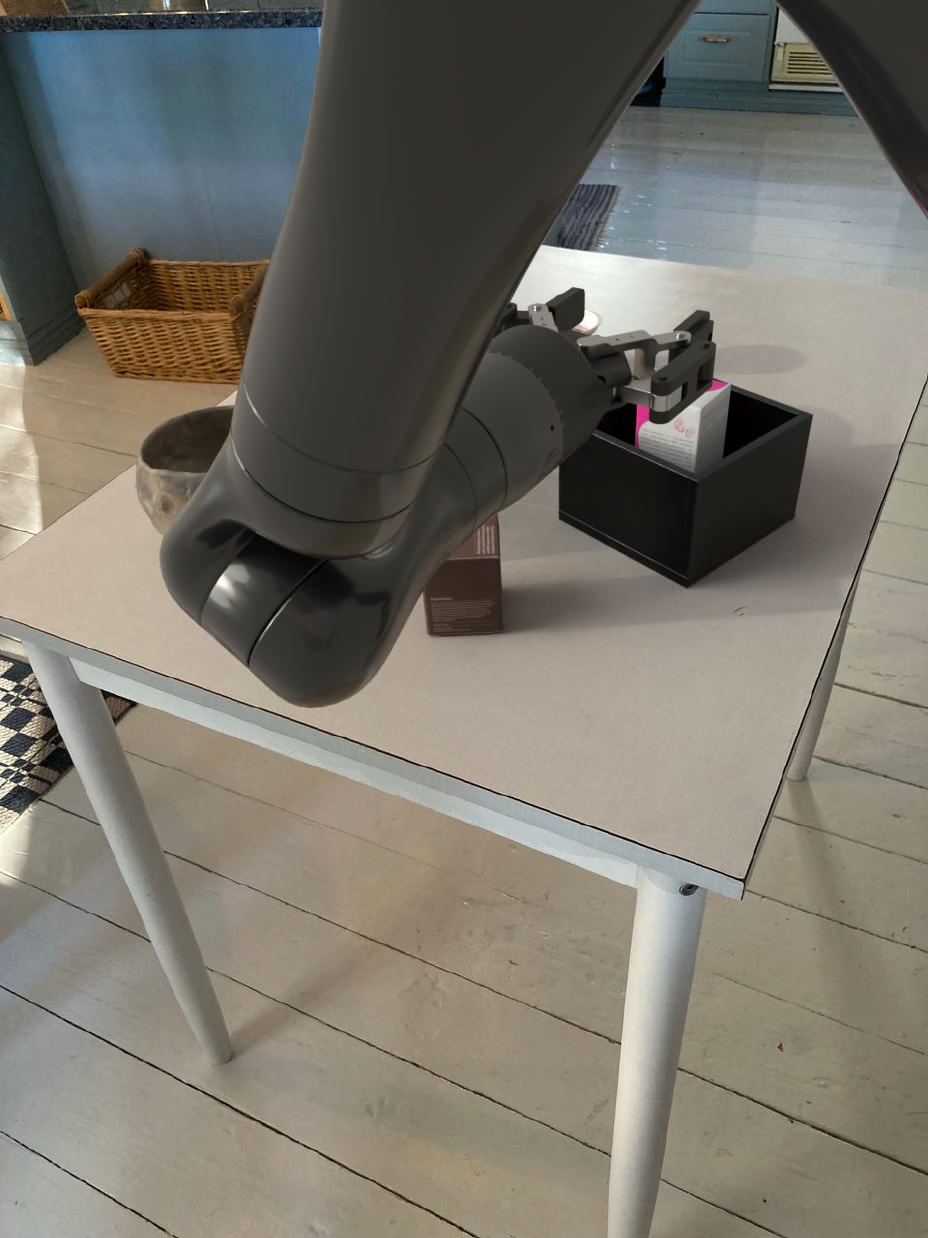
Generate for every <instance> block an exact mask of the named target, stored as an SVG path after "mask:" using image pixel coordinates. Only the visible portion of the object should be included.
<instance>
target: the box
mask: <svg viewBox="0 0 928 1238" xmlns="http://www.w3.org/2000/svg"><path fill="white" fill-rule="evenodd" d="M500 538H501V537H500V521H499V514H496V515H495V516H494V517H493V518H491V519H490V520H489V521H488V522H487V523H486V524H485V525H483V526H482V527H481V528H480V529H479V530H478V531H477V532H476V533H474V534H473V535H472V536H471V537H470V538H469V539H468V540H466V541H465V542H464V543H463V544H462V545H461V546H460V547H458V548H457V549H456V550H455V551H454V552H453V553H452V554H451V555H450V556H449V557H448V559H447V560H446V561H445V562H444V563H443V564H442V566H441V567H440V568H439V569H438V570H437V572H436V573H435V574H434V576H433V577H432V578H431V580H430V581H429V583H428V584H427V586H426V587H425V589H424V591H423V592H422V600H423V608H424V615H425V625H426V633H427V635H428V636H449V635H450V636H451V635H468V634H495V633H502V632H503V631H504V602H503V601H504V600H503V582H502V563H501V539H500Z"/></svg>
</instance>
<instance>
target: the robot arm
mask: <svg viewBox="0 0 928 1238" xmlns="http://www.w3.org/2000/svg"><path fill="white" fill-rule="evenodd" d="M703 1H704V0H323V9H322V17H321V26H320V36H319V44H318V52H317V58H316V66H315V70H314V78H313V84H312V91H311V92H312V93H311V98H310V106H309V111H308V116H307V121H306V126H305V132H304V137H303V143H302V147H301V152H300V157H299V160H298V161H299V162H298V165H297V169H296V172H295V177H294V181H293V185H292V188H291V192H290V195H289V199H288V201H287V202H288V203H287V205H286V209H285V211H284V215H283V218H282V221H281V225H280V227H279V230H278V234H277V236H276V239H275V243H274V246H273V249H272V252H271V255H270V259H269V261H268V265H267V268H266V271H265V274H264V278H263V281H262V285H261V288H260V291H259V295H258V299H257V303H256V307H255V310H254V315H253V318H252V321H251V322H252V323H251V327H250V331H249V336H248V339H247V344H246V349H245V353H244V358H243V363H242V367H241V373H240V376H239V382H238V386H237V392H236V396H235V402H234V405H235V406H234V410H233V417H232V420H231V426H230V432H229V434H228V436H227V438H226V440H225V442H224V444H223V446H222V448H221V450H220V451H219V453H218V455H217V456H216V458H215V460H214V462H213V463H212V465H211V467H210V468H209V470H208V472H207V473H206V475H205V477H204V478H203V480H202V482H201V483H200V485H199V486H198V488H197V489H196V491H195V492H194V493H193V495H192V496H191V497H190V498H189V500H188V501H187V502H186V503H185V505H184V506H183V507H182V508H181V510H180V511H179V512H178V514H177V515H176V516H175V518H174V519H173V521H172V522H171V524H170V525H169V527H168V529H167V530H166V532H165V534H164V536H163V535H162V539H161V542H160V545H159V554H158V560H159V567H160V573H161V576H162V579H163V582H164V585H165V587H166V589H167V591H168V593H169V595H170V597H171V598H172V599H173V601H174V602H175V603H176V605H177V606H178V607H179V608H180V609H181V610H182V611H183V612H184V613H185V614H186V615H187V616H188V617H189V618H190V619H191V620H192V621H193V622H195V623H196V624H197V625H198V626H199V627H200V628H201V629H203V630H204V631H205V632H206V633H207V634H208V635H209V636H210V637H212V638H213V639H214V640H215V641H216V642H217V643H218V644H219V645H220V646H221V647H223V648H224V649H225V650H226V651H227V652H228V653H230V654H231V655H232V656H233V657H234V658H235V659H236V660H237V661H238V662H239V663H241V664H242V665H243V666H244V667H245V668H246V669H248V670H249V672H251V673H252V674H253V675H254V676H255V677H256V678H257V679H258V680H259V681H260V682H261V683H262V684H263V685H265V686H266V688H268V689H269V690H270V691H271V692H272V693H274V694H275V695H276V696H277V697H278V698H280V699H282V700H283V701H285V702H287V703H288V704H290V705H292V706H295V707H299V708H306V709H317V708H318V709H319V708H326V707H329V706H334V705H338V704H340V703H342V702H344V701H347V700H349V699H350V698H352V697H354V696H356V695H357V694H359V692H361V691H363V689H364V688H365V687H367V685H369V683H371V681H373V680H374V678H375V677H376V676H377V674H378V673H379V672H380V670H381V669H382V667H383V666H384V664H385V662H386V661H387V660H388V658H389V656H390V654H391V653H392V651H393V648H394V647H395V645H396V644H397V641H398V640H399V637H400V636H401V634H402V632H403V630H404V628H405V626H406V624H407V622H408V620H409V619H410V616H411V615H412V612H413V610H414V608H415V607H416V604H417V602H418V601H419V599H420V598H421V596H422V595H423V591H424V589H425V587H426V586H427V584H428V583H429V581H430V580H431V578H432V577H433V576H434V574H435V573H436V572H437V570H438V569H439V568H440V567H441V566H442V564H443V563H444V562H445V561H446V560H447V559H448V557H449V556H450V555H451V554H452V553H453V552H454V551H455V550H456V549H457V548H458V547H460V546H461V545H462V544H463V543H464V542H465V541H466V540H468V539H469V538H470V537H471V536H472V535H473V534H474V533H476V532H477V531H478V530H479V529H480V528H481V527H482V526H483V525H485V524H486V523H487V522H488V521H489V520H490V519H491V518H493V517H494V516H495V515H496V514H497V515H499V513H500V512H502V511H504V510H505V509H506V510H507V508H509V507H511V506H512V505H513V504H516V503H517V502H519V501H520V500H521V499H522V498H524V497H526V496H527V494H528V493H530V492H531V491H532V490H533V489H534V488H536V486H538V485H539V484H540V483H541V482H542V481H543V480H545V479H546V478H547V477H548V476H550V474H551V473H552V472H553V471H554V470H556V469H557V468H559V465H560V464H561V463H562V462H563V461H565V460H566V459H567V458H568V457H569V456H570V455H571V454H572V453H574V452H575V451H576V450H577V449H578V448H579V447H580V446H582V445H583V444H584V443H585V442H586V441H587V440H588V439H589V437H590V436H591V435H592V433H593V432H594V430H595V428H596V427H597V425H598V423H599V422H600V420H601V418H602V417H603V415H604V414H605V413H606V412H608V411H611V410H613V409H617V408H620V407H622V406H624V405H625V404H627V403H628V402H629V403H633V404H637V405H640V406H644V407H648V408H649V421H650V422H651V423H654V424H667V423H669V422H670V421H671V420H673V419H674V418H675V417H676V416H677V415H679V414H680V413H681V412H682V411H683V410H685V409H686V408H687V407H688V406H690V405H691V404H692V403H693V402H694V401H696V400H697V399H698V398H699V397H700V396H702V395H703V394H704V393H705V392H706V391H708V390H709V389H710V388H711V387H712V384H713V378H714V373H715V363H716V353H717V343H716V342H714V341H713V335H714V324H715V321H714V320H713V319H711V312H710V311H708V310H702V309H696V310H694V312H692V313H691V314H690V315H689V316H688V317H687V318H685V319H684V320H683V321H682V322H680V323H679V324H678V325H676V327H674V328H673V329H672V331H670V332H669V331H668V332H665V333H660V334H653V335H651V334H650V333H649V332H647V330H644V329H639V330H634V331H633V330H632V331H628V332H623V333H618V334H614V335H613V334H612V335H608V336H601V335H600V334H592V336H590V335H587V334H584V333H582V332H578V331H573V330H571V329H573V328H574V327H576V326H577V325H578V324H580V323H581V322H582V321H583V319H584V315H585V308H586V291H585V289H584V288H580V287H576V286H572V287H570V288H569V289H567V290H566V291H564V292H563V293H560V294H557V295H555V296H554V297H553V298H551V299H550V300H548V301H546V302H545V303H532V304H529V305H528V306H527V310H519V309H518V304H517V303H515V302H513V301H512V300H513V297H514V296H515V294H516V292H517V290H518V288H519V286H520V285H521V282H522V281H523V278H524V277H525V275H526V274H527V271H529V268H530V266H531V264H532V262H533V261H534V259H535V257H536V256H537V254H538V252H539V250H540V249H541V246H542V245H543V243H544V242H545V240H546V238H547V236H548V235H549V233H550V232H551V230H552V228H553V226H554V225H555V224H556V221H557V220H558V218H559V216H560V215H561V213H562V211H563V210H564V208H565V206H567V203H568V202H569V201H570V198H571V197H572V196H573V194H574V193H575V191H576V189H577V188H578V186H579V184H580V183H581V181H582V180H583V178H584V176H585V174H587V171H588V170H589V168H590V167H591V165H592V163H593V161H594V160H595V158H596V157H597V156H598V154H599V152H600V151H601V149H602V148H603V146H604V145H605V143H606V141H607V140H608V138H609V137H610V136H611V134H612V132H613V131H614V129H615V128H616V126H617V125H618V123H619V122H620V120H621V118H623V115H624V114H625V112H626V111H627V109H628V108H629V107H630V105H631V104H632V102H633V100H634V99H635V97H636V96H637V95H638V93H639V92H640V90H641V89H642V87H643V86H644V84H645V83H646V82H647V80H648V79H649V77H650V76H651V74H652V73H653V72H654V71H655V69H656V68H657V66H658V65H659V63H660V62H661V60H662V59H663V58H664V56H666V53H667V52H668V50H669V49H670V48H671V47H672V45H673V43H674V42H675V41H676V40H677V38H678V37H679V35H680V34H681V32H682V31H683V30H684V28H685V27H686V25H688V23H689V21H690V20H691V18H692V17H693V16H694V14H695V13H696V11H698V9H699V7H700V6H701V4H702V3H703ZM771 2H773V3H774V5H776V6H777V7H778V9H779V10H780V11H781V12H782V13H783V14H784V15H785V17H786V18H787V19H788V20H789V21H790V22H791V23H792V24H793V26H794V27H795V28H796V29H797V30H798V31H799V33H801V35H802V36H803V37H804V38H805V40H806V41H807V42H808V45H810V47H811V48H812V50H813V51H814V52H815V53H816V55H817V56H818V57H819V59H820V60H821V61H822V63H823V64H824V65H825V67H826V69H828V72H829V73H830V75H831V76H832V77H833V79H834V81H835V82H836V83H837V84H838V86H839V88H840V90H841V91H842V93H843V94H844V96H845V97H846V99H847V100H848V102H849V104H850V105H851V107H852V108H853V110H854V112H855V113H856V114H857V116H858V118H859V119H860V121H861V122H862V124H863V126H864V127H865V128H866V129H867V132H868V134H869V135H870V137H871V138H872V139H873V141H874V143H875V144H876V146H877V147H878V149H879V151H880V152H881V154H882V155H883V157H884V159H885V160H886V161H887V163H888V165H889V166H890V167H891V169H892V170H893V172H894V173H895V175H896V176H897V178H898V179H899V181H900V183H901V184H902V185H903V187H904V188H905V190H906V191H907V192H908V194H909V195H910V197H911V198H912V200H913V201H914V202H915V204H916V205H917V207H918V208H919V209H920V211H921V212H922V214H923V215H924V217H925V218H926V219H927V220H928V0H771ZM629 351H634V357H633V359H634V360H633V363H634V364H633V373H632V370H631V367H630V364H629V361H628V358H627V356H626V355H627V354H626V352H629ZM665 351H668V355H667V364H663V365H656V360H657V359H656V358H657V355H658V354H660V353H661V352H665Z"/></svg>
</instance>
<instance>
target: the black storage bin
mask: <svg viewBox="0 0 928 1238" xmlns="http://www.w3.org/2000/svg"><path fill="white" fill-rule="evenodd" d="M713 380H714V381H719V382H723V383H728V384H731V383H729V382H726V381H724V380H721V379H718V378H716V377H713ZM813 418H814V413H811V412H808V411H805V410H802V409H799V408H796V407H793V406H790V405H788V404H786V403H783V402H780V401H778V400H775V399H773V398H770V397H767V396H764V395H761V394H758V393H756V392H753V391H751V390H748V389H745V388H743V387H739V386H737V385H734V384H731V390H730V399H729V407H728V416H727V424H726V433H725V441H724V450H723V458H722V460H720V461H718V462H717V463H715V464H713V465H711V466H710V467H708V468H706V469H704V470H703V471H701V472H699V473H698V474H695V473H692V472H690V471H688V470H686V469H684V468H681V467H679V466H677V465H675V464H672V463H670V462H668V461H666V460H664V459H661V458H659V457H657V456H655V455H653V454H650V453H648V452H646V451H644V450H641V449H639V448H637V447H635V439H636V423H637V404H633V403H629V402H628V403H627V404H625V405H624V406H622V407H620V408H617V409H613V410H611V411H608V412H606V413H605V414H604V415H603V417H602V418H601V420H600V422H599V423H598V425H597V427H596V428H595V430H594V432H593V433H592V435H591V436H590V437H589V439H588V440H587V441H586V442H585V443H584V444H583V445H582V446H580V447H579V448H578V449H577V450H576V451H575V452H574V453H572V454H571V455H570V456H569V457H568V458H567V459H566V460H565V461H563V462H562V463H561V464H560V465H559V466H558V520H559V521H561V522H563V523H565V524H566V525H569V526H571V527H572V528H574V529H576V530H578V531H580V532H582V533H584V534H586V535H587V536H589V537H591V538H593V539H595V540H596V541H598V542H600V543H602V544H604V545H606V546H608V547H609V548H611V549H613V550H615V551H617V552H618V553H620V554H622V555H624V556H626V557H628V558H629V559H631V560H633V561H635V562H637V563H638V564H641V565H642V566H644V567H646V568H648V569H650V570H652V571H654V572H656V573H657V574H659V575H661V576H662V577H664V578H667V579H669V580H670V581H672V582H673V583H675V584H677V585H679V586H681V587H683V588H684V589H689V588H690V587H691V586H693V585H695V584H696V583H697V582H699V581H701V580H702V579H703V578H705V577H707V576H708V575H710V574H711V573H713V572H714V571H716V570H717V569H719V568H721V567H722V566H723V565H725V564H726V563H728V562H729V561H731V560H732V559H734V558H735V557H737V556H739V555H741V554H742V553H743V552H744V551H746V550H747V549H749V548H751V547H752V546H753V545H755V544H757V543H758V542H760V541H762V539H765V538H766V537H768V536H769V535H770V534H772V533H773V532H775V531H777V530H778V529H779V528H781V527H782V526H784V525H785V524H787V523H788V522H790V521H792V520H793V519H795V517H796V513H797V507H798V501H799V497H800V490H801V485H802V480H803V479H802V478H803V473H804V468H805V463H806V458H807V452H808V447H809V440H810V435H811V429H812V425H813V424H812V423H813Z"/></svg>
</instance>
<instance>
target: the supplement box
mask: <svg viewBox="0 0 928 1238" xmlns="http://www.w3.org/2000/svg"><path fill="white" fill-rule="evenodd" d="M728 383H729V382H726V383H723V382H719V381H714V380H713V384H712V387H711V388H710V389H709V390H708V391H706V392H705V393H704V394H703V395H702V396H700V397H699V398H698V399H697V400H696V401H694V402H693V403H692V404H691V405H690V406H688V407H687V408H686V409H685V410H683V411H682V412H681V413H680V414H679V415H677V416H676V417H675V418H674V419H673V420H671V421H670V422H669V423H667V424H654V423H651V422H650V421H649V408H648V407H644V406H640V405H637V423H636V439H635V447H637V448H639V449H641V450H644V451H646V452H648V453H650V454H653V455H655V456H657V457H659V458H661V459H664V460H666V461H668V462H670V463H672V464H675V465H677V466H679V467H681V468H684V469H686V470H688V471H690V472H692V473H695V474H698V473H699V472H701V471H703V470H704V469H706V468H708V467H710V466H711V465H713V464H715V463H717V462H718V461H720V460H722V458H723V450H724V441H725V433H726V424H727V416H728V407H729V399H730V390H731V383H729V384H728Z"/></svg>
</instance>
